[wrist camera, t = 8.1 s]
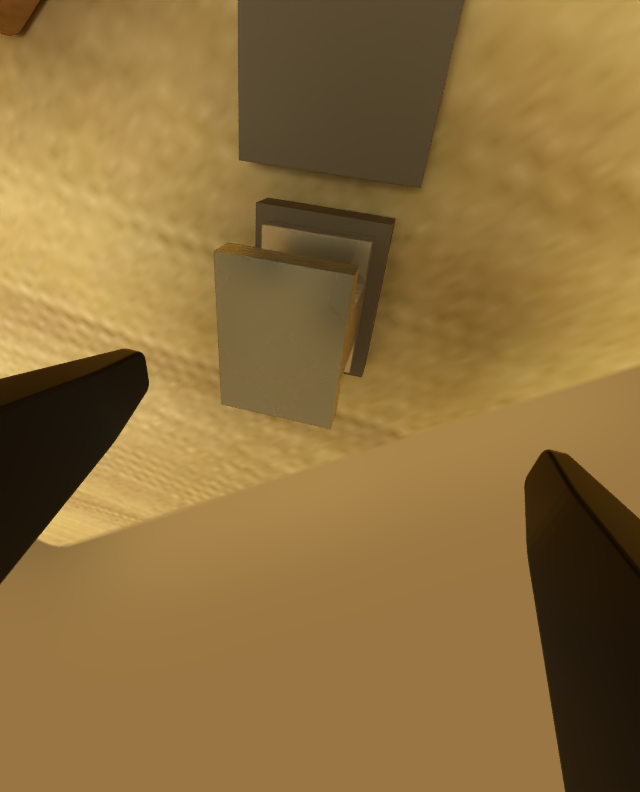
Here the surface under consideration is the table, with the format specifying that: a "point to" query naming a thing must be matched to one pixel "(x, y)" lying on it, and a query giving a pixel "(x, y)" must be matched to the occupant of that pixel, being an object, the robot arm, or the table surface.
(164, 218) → the table surface
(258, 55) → the stand
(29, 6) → the wooden block
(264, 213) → the stand
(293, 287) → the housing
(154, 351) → the table surface
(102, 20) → the table surface
